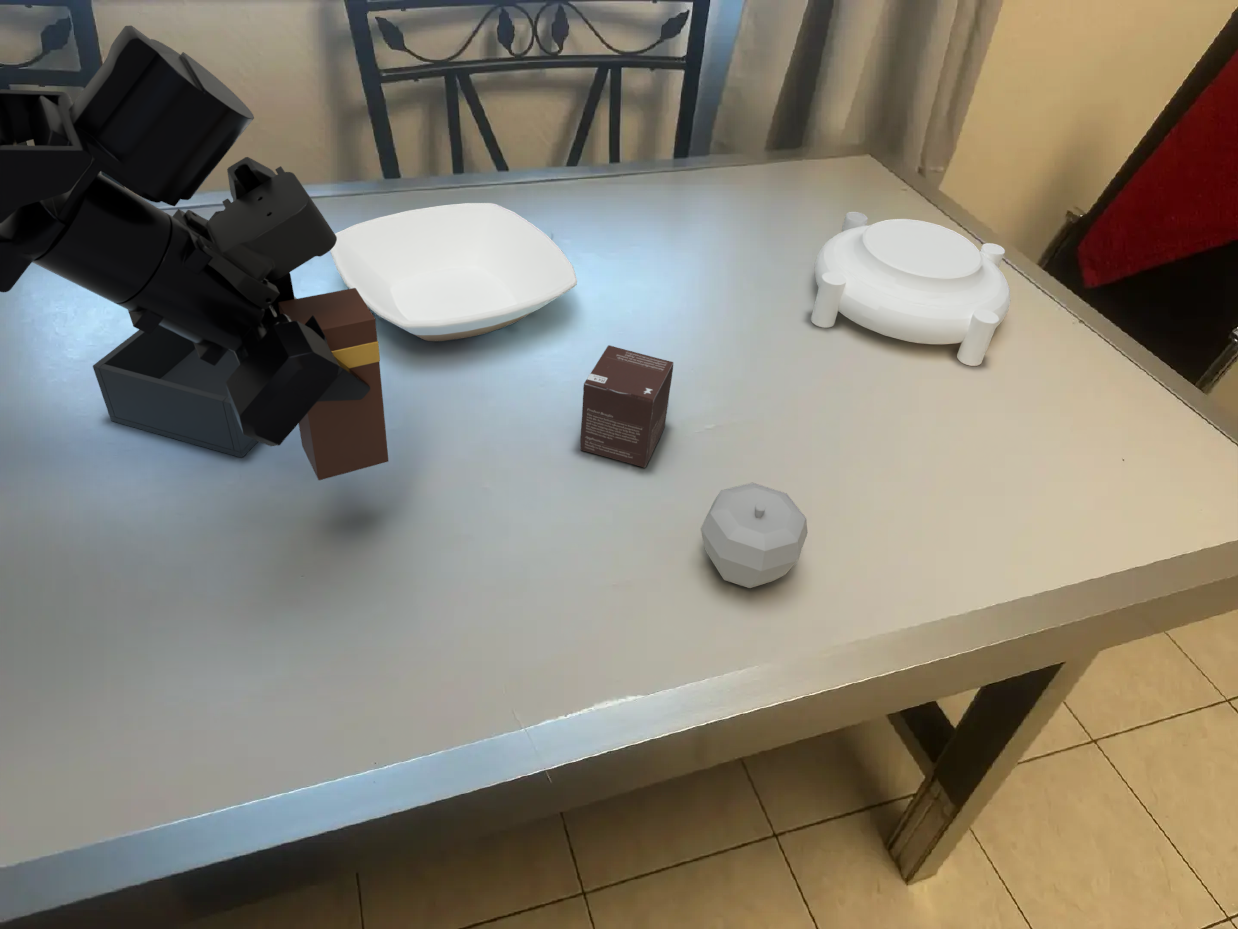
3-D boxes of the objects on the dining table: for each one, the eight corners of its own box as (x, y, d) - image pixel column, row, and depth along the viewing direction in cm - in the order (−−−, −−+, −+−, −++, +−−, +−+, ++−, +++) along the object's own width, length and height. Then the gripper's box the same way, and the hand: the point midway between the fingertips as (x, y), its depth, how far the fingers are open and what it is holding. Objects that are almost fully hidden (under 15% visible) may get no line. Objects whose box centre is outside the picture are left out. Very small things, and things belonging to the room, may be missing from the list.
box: (666, 429, 84) (676, 361, 79) (645, 470, 80) (654, 401, 75) (601, 411, 85) (607, 342, 81) (577, 450, 81) (582, 381, 76)
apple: (736, 516, 77) (751, 455, 72) (817, 571, 73) (837, 509, 69) (671, 565, 72) (682, 503, 68) (753, 626, 68) (771, 564, 64)
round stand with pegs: (919, 238, 116) (937, 183, 112) (1063, 344, 101) (1091, 285, 96) (753, 267, 107) (764, 208, 103) (882, 389, 92) (903, 326, 87)
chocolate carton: (317, 481, 66) (294, 335, 58) (301, 446, 68) (276, 301, 60) (389, 462, 68) (376, 318, 60) (370, 428, 70) (356, 286, 62)
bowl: (501, 235, 108) (501, 191, 104) (601, 332, 95) (605, 286, 91) (312, 275, 98) (306, 229, 95) (395, 390, 85) (390, 341, 82)
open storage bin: (110, 421, 79) (92, 365, 75) (200, 344, 88) (188, 291, 84) (242, 458, 77) (229, 403, 73) (320, 375, 86) (312, 323, 82)
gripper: (274, 222, 45) (489, 362, 57) (192, 81, 57) (385, 222, 69) (135, 393, 47) (371, 494, 59) (83, 223, 59) (289, 336, 71)
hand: (355, 375), depth 64 cm, fingers closed on chocolate carton, 4 cm apart
